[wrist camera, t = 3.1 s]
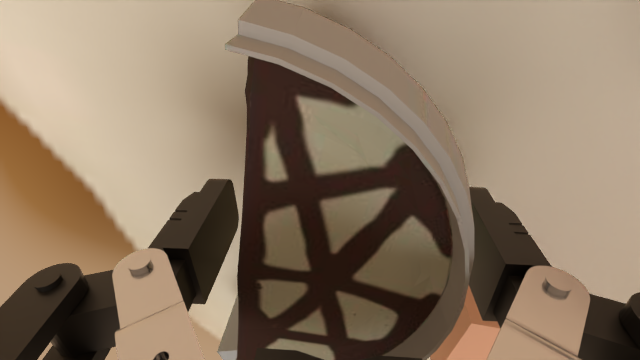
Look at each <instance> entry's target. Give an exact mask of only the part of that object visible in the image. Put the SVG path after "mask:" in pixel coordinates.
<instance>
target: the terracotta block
mask: <svg viewBox="0 0 640 360" xmlns="http://www.w3.org/2000/svg"><path fill="white" fill-rule="evenodd" d="M499 331H500V326H499V324H498V322H497V321H483V320H482V318H481V315H480V313H479V310H478V307H477V305H476V302H475V300H474V297H473V295H472V292H471V289H470V287H469V285H468V290H467V294H466V298H465V303H464V307H463V309H462V311H461V313H460V316H459V318H458V320H457V322H456V324H455V326H454V328H453V330H452V331H451V333H450V334H449V335H448V337H447V338H446V339H445V340H444V342H443V343H442V344H441V346H440V347H439V348H438V349H437V351H435V352H434V353H433V354H432V355H431V356H430V359H431V360H486V359H487V357H488V355H489V353H490V351H491V348H492V346H493V344H494V342H495V340H496V337H497V335H498V333H499Z"/></svg>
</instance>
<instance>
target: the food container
mask: <svg viewBox="0 0 640 360" xmlns="http://www.w3.org/2000/svg"><path fill="white" fill-rule="evenodd" d="M225 50H228V51H232V52H236V53H239V54H243V55H246V56H249V57H248V76H247V82H246V88H245V95H246V103H247V137H246V156H245V175H244V193H243V210H242V224H241V237H240V249H239V262H238V274H237V280H238V343H237V358H236V360H254V359H255V355H256V350H257V348H268V349H284V350H297V351H300V352H303V353H306V354H309V355H312V356H315V357H318V358H321V359H324V360H361V359H366V358H371V357H376V356H394V357H410V358H422V360H426V359H428V358H429V357H430V356H431V355H432V354H433V353H434V352H435V351H437V349H438V348H439V347H440V346H441V344H442V343H443V342H444V340H445V339H446V338H447V337H448V335H449V334H450V333H451V331H452V330H453V328H454V326H455V324H456V322H457V320H458V318H459V316H460V313H461V311H462V309H463V307H464V303H465V298H466V294H467V290H468V285H469V281H470V275H471V271H472V266H473V262H474V221H473V213H472V205H471V198H470V190H469V185H468V181H467V176H466V172H465V167H464V163H463V159H462V155H461V153H460V151H459V148H458V146H457V144H456V142H455V139H454V137H453V135H452V133H451V131H450V128H449V126H448V124H447V122H446V120H445V119H444V118H443V116H442V115H441V113H440V112H439V111H438V109H437V108H436V106H435V105H434V103H433V102H432V101H431V99H430V98H429V96H428V95H427V94H426V92H425V91H424V89H423V88H422V87H421V86H420V85H419V84H418V83H417V82H416V81H415V80H414V79H413V78H412V77H411V76H410V75H409V74H408V73H407V72H406V71H405V70H404V69H403V68H402V67H400V66H399V65H398V64H397V63H396V62H395V61H394V60H393V59H392V58H391V57H390V56H389V55H387V54H386V53H384V52H383V51H381V50H380V49H379V48H377V47H376V46H374V45H373V44H371V43H370V42H368V41H367V40H365V39H364V38H363V37H361V36H360V35H358V34H357V33H355V32H354V31H352V30H351V29H349V28H347V27H345V26H342V25H340V24H338V23H336V22H334V21H332V20H330V19H327V18H325V17H323V16H321V15H319V14H317V13H314V12H312V11H310V10H308V9H306V8H303V7H300V6H296V5H292V4H289V3H285V2H282V1H278V0H255V1H254V3H253V4H252V5H251V6H250V7H249V8H248V9H247V10H246V12H245V13H244V14H243V15H242V16H241V17H240V18H239V19H238V35H237V36H236V37H234V38H233V39H231V40H230V41H229V42H227V43H226V44H225Z"/></svg>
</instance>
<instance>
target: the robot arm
mask: <svg viewBox="0 0 640 360" xmlns="http://www.w3.org/2000/svg"><path fill="white" fill-rule="evenodd" d="M469 190H470V198H471V205H472V213H473V221H474V262H473V266H472V271H471V275H470V281H469V287H470V289H471V292H472V295H473V297H474V300H475V302H476V305H477V307H478V310H479V313H480V315H481V318H482V320H483V321H497V322H498V324H499V326H500V331H499V333H498V335H497V337H496V340H495V342H494V344H493V346H492V348H491V351H490V353H489V355H488V357H487V359H486V360H640V293H636V294H634V295H633V296H631V298H630V299H629V300H628V302H627V303H626V304H624V303H621V302H617V301H614V300H610V299H606V298H603V297H599V296H595V295H592V294H589V292H588V290H587V289H586V287H585V286H584V285H583V284H582V283H581V282H580V281H579V280H578V279H576V278H575V277H574V276H572V275H570V274H569V273H567V272H565V271H563V270H560V269H558V268H554V267H552V266H551V265H550V264H549V262H548V261H547V259H546V258H545V256H544V255H543V253H542V252H541V250H540V249H539V248H538V246H537V245H536V243H535V242H534V240H533V239H532V237H531V236H530V235H528V232H527V230H526V229H525V227H524V226H522V223H521V222H520V220H519V219H518V217H517V216H516V214H515V213H514V212H513V211H512V210H510V209H509V208H508V207H506V206H505V205H504V204H502V203H495V201H494V200H493V198H492V197H491V195H490V193H489V192H488V190H487V189H486V188H479V187H469ZM238 220H239V216H238V209H237V204H236V198H235V192H234V187H233V183H232V181H231V180H229V179H209V180H208V181H207V182H206V184H205V185H204V187H203V188H202V190H201V191H200V192H194V193H192V194H191V195H189V196H188V197H187V198H185V199H184V200H182V202H181V203H180V204H179V206H178V207H177V209H176V210H175V212H174V213H173V214H172V216H171V217H170V220H168V221H167V222H166V224H165V225H164V227H163V228H162V229H161V231H160V232H159V234H158V235H157V236H156V238H155V239H154V240H153V242H152V243H151V245H150V246H149V247H148V249H142V250H139V251H136V252H134V253H132V254H130V255H128V256H126V257H125V258H123V260H121V261H120V262H119V263H118V264H117V266H116V267H115V268H114V270H110V271H105V272H100V273H95V274H90V275H85V276H84V275H83V273H82V271H81V270H80V268H79V267H78V266H77V265H75V264H71V263H63V264H57V265H54V266H51V267H48V268H45V269H43V270H41V271H39V272H37V273H36V274H34V275H33V276H31V277H30V278H29V279H27V280H26V281H25V282H24V283H23V284H22V285H21V286H20V287H19V288H18V289H17V290H16V291H15V292H14V293H13V295H12V296H11V297H10V298H9V299H8V300H7V301H6V302H5V303H4V304H3V305H2V306H1V307H0V360H37V359H38V358H39V356H40V355H41V354H42V352H43V351H44V350H45V348H46V347H47V346H48V344H49V343H50V342H51V343H52V344H53V346H52V347H51V349H50V350H49V351H48V353H47V354H46V356H45V357H44V358H43V360H105V358H106V356H107V355H108V353H109V351H110V349H111V347H115V346H116V350H117V357H118V360H205V358H204V356H203V353H202V351H201V348H200V345H199V342H198V339H197V336H196V334H195V331H194V328H193V325H192V323H191V320H190V317H189V314H188V311H189V309H190V307H191V305H192V304H205V303H206V301H207V299H208V296H209V294H210V292H211V289H212V287H213V285H214V282H215V280H216V278H217V275H218V273H219V271H220V268H221V266H222V264H223V261H224V259H225V257H226V254H227V252H228V250H229V247H230V245H231V243H232V240H233V238H234V236H235V233H236V231H237V228H238ZM254 360H324V359H321V358H318V357H315V356H312V355H309V354H306V353H303V352H300V351H297V350H284V349H268V348H257V350H256V355H255V359H254ZM361 360H422V358H410V357H394V356H376V357H371V358H366V359H361Z"/></svg>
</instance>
